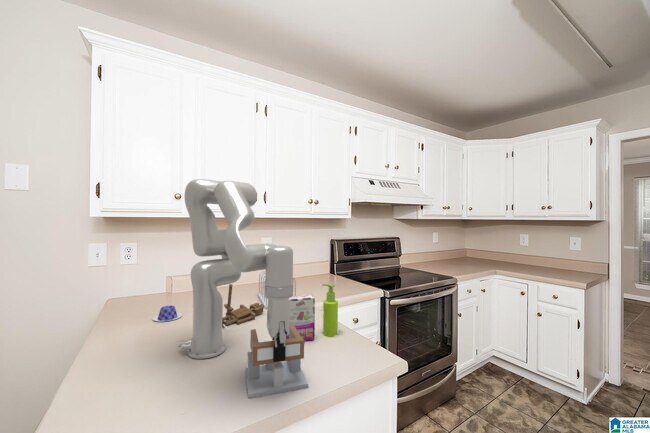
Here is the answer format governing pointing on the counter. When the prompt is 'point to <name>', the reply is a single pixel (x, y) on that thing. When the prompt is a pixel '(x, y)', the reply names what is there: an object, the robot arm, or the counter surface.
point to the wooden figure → (240, 312)
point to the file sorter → (262, 295)
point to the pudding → (167, 314)
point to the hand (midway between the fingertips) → (278, 357)
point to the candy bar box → (302, 316)
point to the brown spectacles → (264, 350)
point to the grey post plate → (274, 377)
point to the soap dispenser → (330, 313)
